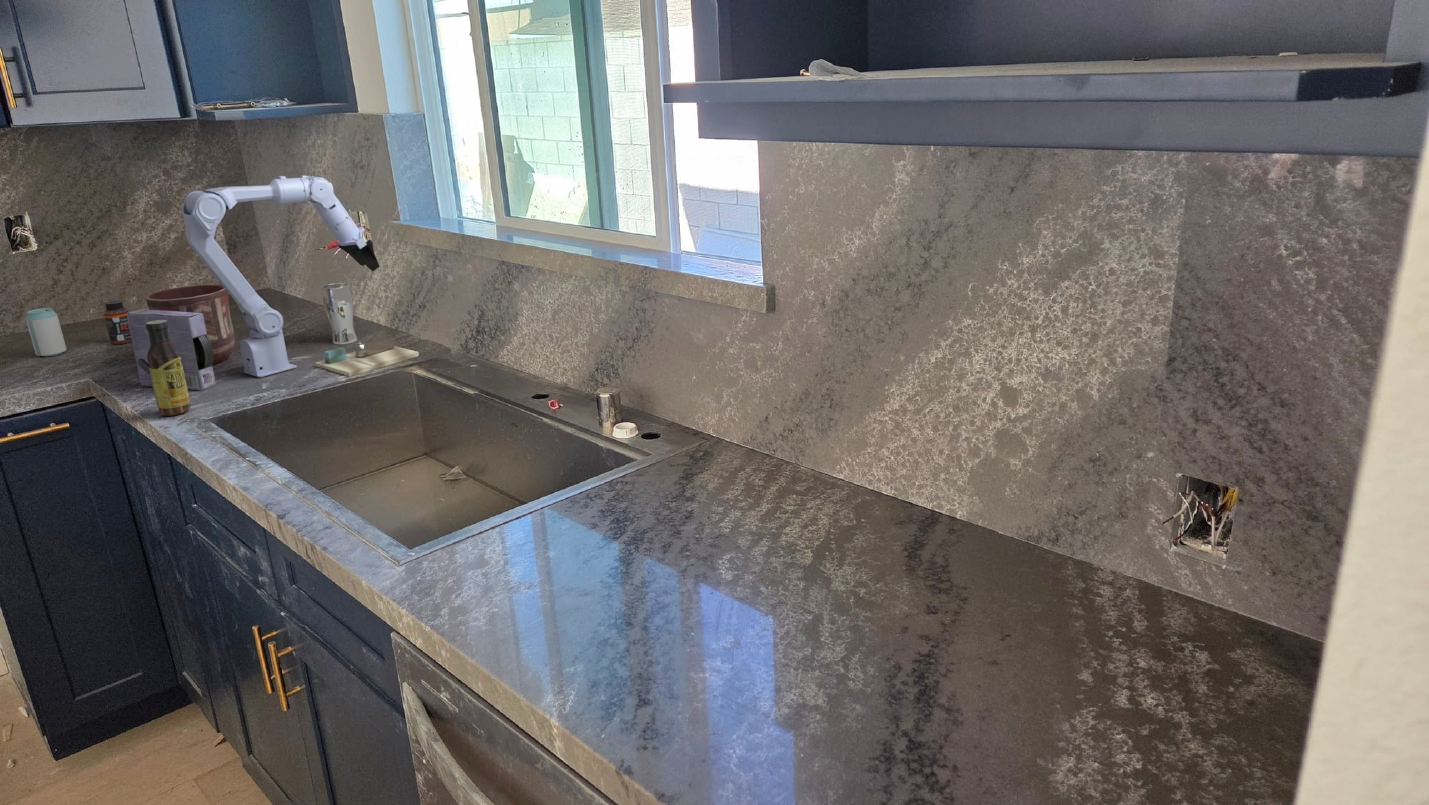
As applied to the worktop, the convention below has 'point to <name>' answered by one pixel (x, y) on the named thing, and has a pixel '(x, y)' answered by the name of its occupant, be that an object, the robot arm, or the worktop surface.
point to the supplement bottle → (117, 323)
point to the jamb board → (362, 360)
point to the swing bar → (373, 346)
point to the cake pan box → (175, 345)
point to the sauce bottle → (166, 371)
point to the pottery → (203, 301)
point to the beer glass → (339, 312)
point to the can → (45, 332)
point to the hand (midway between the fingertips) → (370, 266)
